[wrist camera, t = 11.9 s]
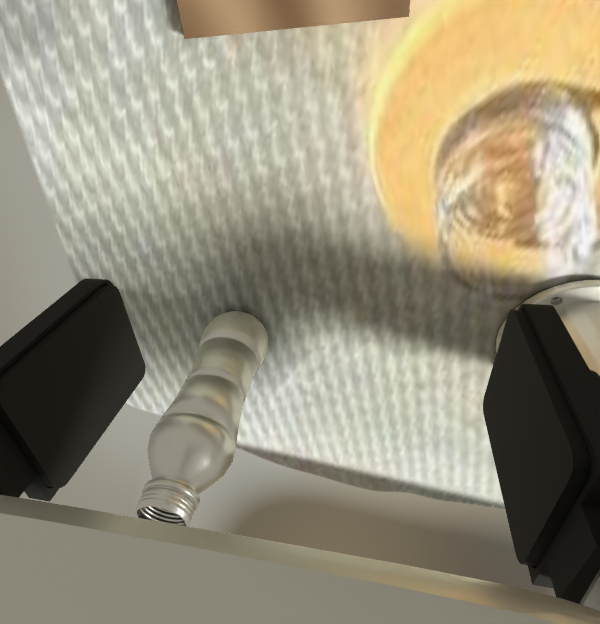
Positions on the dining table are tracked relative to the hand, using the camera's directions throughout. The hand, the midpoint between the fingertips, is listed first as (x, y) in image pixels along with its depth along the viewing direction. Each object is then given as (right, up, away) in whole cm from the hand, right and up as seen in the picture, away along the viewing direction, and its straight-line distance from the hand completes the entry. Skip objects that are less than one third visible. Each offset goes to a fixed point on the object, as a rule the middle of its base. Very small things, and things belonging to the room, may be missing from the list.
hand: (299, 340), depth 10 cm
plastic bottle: (-6, -1, +33) cm, 33 cm away
